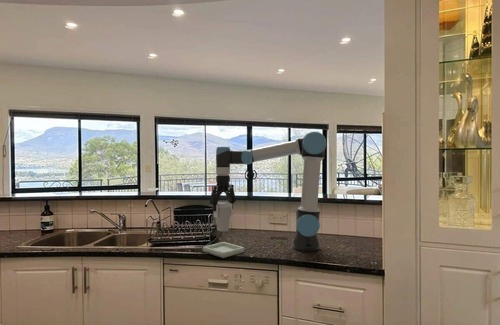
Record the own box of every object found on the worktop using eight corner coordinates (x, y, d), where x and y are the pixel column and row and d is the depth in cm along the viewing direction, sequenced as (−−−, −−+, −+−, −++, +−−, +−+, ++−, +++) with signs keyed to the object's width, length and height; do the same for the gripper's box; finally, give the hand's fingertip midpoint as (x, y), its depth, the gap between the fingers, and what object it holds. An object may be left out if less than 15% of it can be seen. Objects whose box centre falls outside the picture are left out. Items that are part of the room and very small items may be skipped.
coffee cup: (234, 229, 179) (234, 201, 178) (226, 232, 170) (226, 204, 170) (219, 227, 183) (219, 201, 182) (210, 231, 174) (210, 203, 174)
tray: (244, 252, 176) (244, 247, 176) (223, 258, 165) (223, 253, 165) (223, 246, 188) (223, 241, 188) (202, 251, 177) (202, 246, 177)
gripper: (233, 174, 186) (233, 212, 187) (202, 175, 171) (202, 218, 171) (242, 174, 181) (242, 214, 181) (211, 176, 165) (211, 219, 166)
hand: (223, 216), depth 176 cm, fingers closed on coffee cup, 9 cm apart
